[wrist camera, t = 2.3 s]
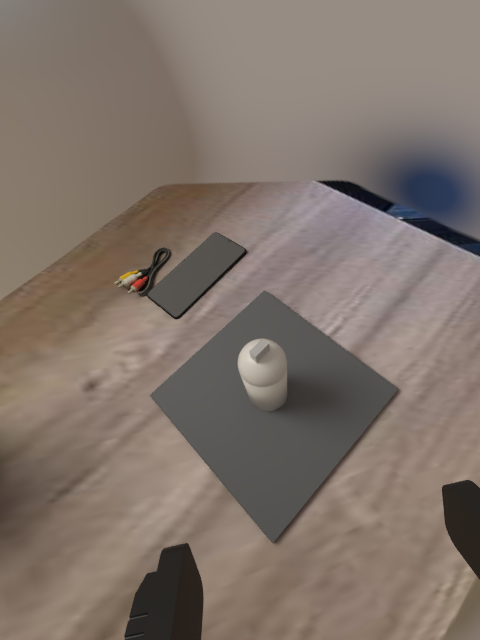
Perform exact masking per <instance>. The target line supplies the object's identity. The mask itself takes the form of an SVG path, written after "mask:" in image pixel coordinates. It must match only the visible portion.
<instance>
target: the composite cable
mask: <svg viewBox="0 0 480 640" xmlns="http://www.w3.org/2000/svg"><path fill="white" fill-rule="evenodd" d="M162 253H166V256H165V257H164V258H163V259H162V261H160V262H159V263H158V264H157V262H158V259H159V256H160V255H161V254H162ZM169 255H170V253H169V250H168V249H167V248H160V249H158V250H157V251H156V252H155V253H154V256H153V261H152V264H151V266H150V267H149V268H148V269H141V270H136V271H134V272H128V273H127V274H125V275H123V276H121V277H120V278H119V280H118V281H117V282H115V285H117V284H119V283H122V284H120V285H119V286H118V288H120V287H122V286H125V287H126V286H129V285H130V286H129V287H128V288H127V290H128V291H129V292H128V294H130V293H131V292H132V291H133V292H136V291H137V293H139V295H140V296H145V295H147V294H148V292H149V291H150V290H151V287H152V283H153V278H154V276H155V274H156V272H157V271H158V270H159V269H160V268H161V266H162V265H163V264H164V263H165V262H166V261H167V260H168V258H169ZM156 265H157V266H156ZM139 272H140V273H139ZM148 279H149V282H148V285H147V287H146V288H145V289H144V290H143V291H140V289H141V287H142V286H144V284H145V282H146V281H147V280H148Z"/></svg>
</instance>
